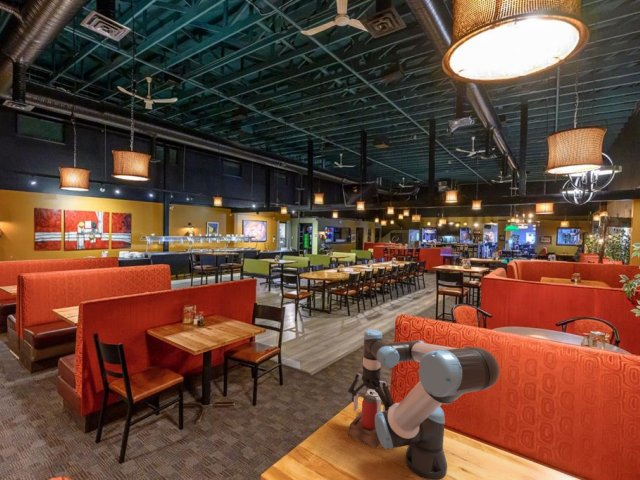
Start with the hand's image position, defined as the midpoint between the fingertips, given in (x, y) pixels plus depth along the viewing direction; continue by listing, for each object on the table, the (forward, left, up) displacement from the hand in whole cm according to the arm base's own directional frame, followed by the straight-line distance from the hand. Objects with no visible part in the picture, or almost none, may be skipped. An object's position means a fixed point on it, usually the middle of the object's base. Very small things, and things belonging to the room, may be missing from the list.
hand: (369, 415), depth 136 cm
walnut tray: (0, 0, -9) cm, 9 cm away
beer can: (0, 0, -5) cm, 5 cm away
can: (+4, -13, -9) cm, 16 cm away
